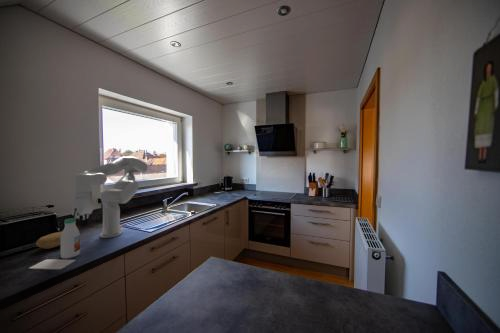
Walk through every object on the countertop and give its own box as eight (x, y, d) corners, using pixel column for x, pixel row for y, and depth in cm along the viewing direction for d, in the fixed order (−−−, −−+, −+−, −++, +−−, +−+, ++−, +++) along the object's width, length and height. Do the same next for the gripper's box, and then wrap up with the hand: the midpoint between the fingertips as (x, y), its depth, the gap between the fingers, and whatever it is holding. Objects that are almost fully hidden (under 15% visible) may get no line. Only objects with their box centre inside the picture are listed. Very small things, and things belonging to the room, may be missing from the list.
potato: (32, 250, 110) (32, 236, 110) (65, 241, 122) (64, 228, 122) (39, 254, 106) (39, 240, 105) (72, 244, 118) (72, 231, 118)
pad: (46, 260, 100) (46, 259, 100) (75, 260, 100) (75, 259, 100) (28, 268, 92) (28, 268, 92) (60, 269, 93) (60, 268, 92)
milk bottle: (68, 260, 101) (67, 222, 100) (56, 258, 102) (56, 220, 101) (83, 253, 108) (83, 217, 108) (72, 251, 110) (72, 216, 109)
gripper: (87, 192, 120) (87, 221, 121) (64, 197, 105) (65, 230, 106) (99, 192, 120) (99, 222, 121) (79, 197, 105) (78, 230, 106)
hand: (83, 225), depth 113 cm, fingers closed
